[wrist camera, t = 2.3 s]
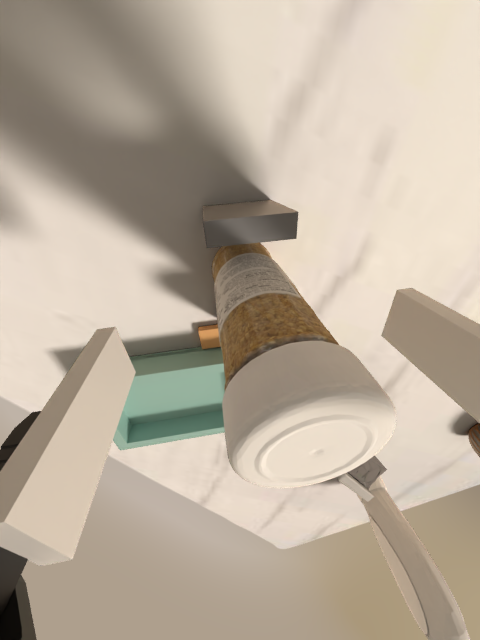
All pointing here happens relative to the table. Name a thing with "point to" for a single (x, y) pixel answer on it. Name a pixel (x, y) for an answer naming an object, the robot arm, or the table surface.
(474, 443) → the vase
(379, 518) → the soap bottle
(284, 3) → the table surface
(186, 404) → the parts tray
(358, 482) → the electrical switch
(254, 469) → the sprinkles bottle
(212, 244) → the grey and orange blocks
